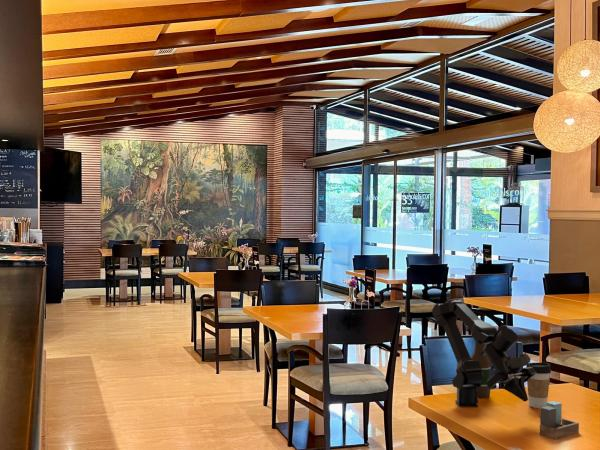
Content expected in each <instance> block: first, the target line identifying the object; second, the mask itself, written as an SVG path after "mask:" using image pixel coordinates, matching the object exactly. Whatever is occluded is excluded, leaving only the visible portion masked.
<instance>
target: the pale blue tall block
mask: <svg viewBox="0 0 600 450" xmlns="http://www.w3.org/2000/svg"><path fill="white" fill-rule="evenodd" d="M562 403H563V402H558V401H555V400H551V401H547V405H546V406H550V407H553V408H556V423H560V424H562V415H563V414H562V410H563V409H562V406H563V405H562Z"/></svg>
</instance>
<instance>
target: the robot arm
mask: <svg viewBox="0 0 600 450" xmlns="http://www.w3.org/2000/svg"><path fill="white" fill-rule="evenodd" d="M431 312H432V313H431V314H432V316H433V318H434V320H435V322H436V323H437V324H438V325H439V326H440V327H442V328H443V330H444V332H445V335H446V337H447V340H448V342H449V346H450V347H451V350H452V352H453V355H454V357H455V360H456V363H457V365H456V369H455V371H456V372H455V373H456V375H455V377H453V378H452V381H451V383H452V387H453V388H456V400H454V401H455V403H456V404H457V406H458V407H461V408H462V407H464V408H465V407H467V408H470V407H472V408H473V407H474V408H476V407H479V405H478V404H479V398H478V392H477V387H479V388H480V387H481V384H482V380H483V372H482V368H481V367H480V364H479V361H478V360H473V359H471V356H470V352H469V350H468V348H467V346H466V343H465V341H464V338H463V336H462V334H461V333H462V332H461V331H460V329H459V326H458V324H457V322H458V321H457V320H458V319H460V320H461V322H462V323H463V324H465V325H466V327H467V328H468V329H469V330H470V333H471V334H470V336H471V337H472V338H473V339H474V342H475V341H476V342H477V343H478V344H485V347H482V348H481V349H482V350H481V356H483V355H486V356H487V357H488V359H489V360H490V364H491V365H492V366H491V369H492V371H496V372H495V373H493V374H492V375H491V377H490V378H489V379H488V380H487V386H488V388H489V389H490V391H491V390H495V389H496V388H497V384H500V383H502V384H503V386H502V387H501V388H502V390H505V391H507V392H509V393H511V394H512V395H514V396H515V397H517V398H518V399H520V400H522V401H523V402H528V401H529V397H528V392H527V391H526V385H525V383H527V381H528V380H529V379H530V378H531V377H533V376H534V375H535V374H536V371H535V369H534V368H533V367H526V366H528V365H529V363H531V357H530V355H528V354H527V352H526V353H525V352H524V353H521V354H518V355H519V356H517V357H513V356H511V355H510V356H508V355H507V353H506V352H508V351H509V350H510V349H511V348H512V347H513V346H514V345H515V343H516V342H517V341H518V338H519V337H518V334H517V332H515V331H514V330H513V329H512V328H509V327H508V326H507V325H506V324H505V325H500V327H499V328H498V329H497V328H496V327H495V326H494V325H492V324H491V323H488V322H486V321H483V320H482V319H480V318H479V317H478V316H477V314H476V313H474V311H472V310H471V309H470V308H469V307H468V305H466V304H465V301H464V300H451V301H449V302H444V303H436V304H434V306H433V307H432V310H431ZM522 367H523V368H522Z"/></svg>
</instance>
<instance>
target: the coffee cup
mask: <svg viewBox="0 0 600 450" xmlns="http://www.w3.org/2000/svg"><path fill="white" fill-rule="evenodd" d="M526 367H533V368H534V369H535V371H536V374H535V375H534V376H533V377H531V378H530V379H529V380H528V381H527V382H526V383H527V384H526V385H527V397H528V406H529V407H531V408H534V409H541V407H545V406H546V405H547V402H548V397H549V388H550V382H551V380H550V379H551V373H552V368H551V363H548V362H529V365H528V366H527V365H526V366H525V368H526Z"/></svg>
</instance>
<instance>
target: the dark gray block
mask: <svg viewBox="0 0 600 450" xmlns="http://www.w3.org/2000/svg"><path fill="white" fill-rule="evenodd" d="M539 417H540V421H539V423H540V424H542V425H545V426H548V427H551V428H556V408H553V407H550V406H545V407H541V408H540V416H539ZM540 424H539V425H540Z"/></svg>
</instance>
